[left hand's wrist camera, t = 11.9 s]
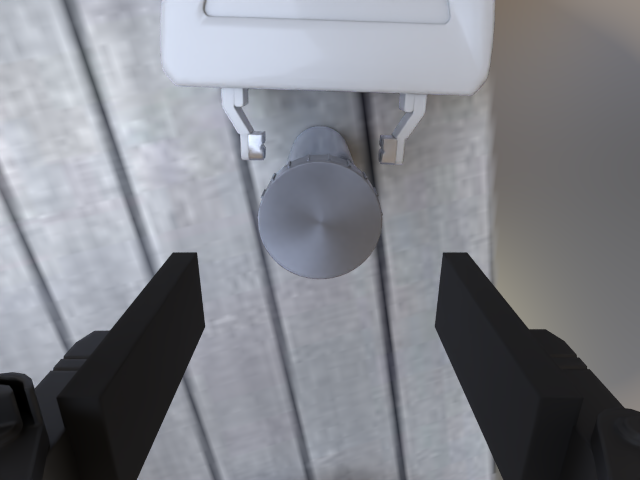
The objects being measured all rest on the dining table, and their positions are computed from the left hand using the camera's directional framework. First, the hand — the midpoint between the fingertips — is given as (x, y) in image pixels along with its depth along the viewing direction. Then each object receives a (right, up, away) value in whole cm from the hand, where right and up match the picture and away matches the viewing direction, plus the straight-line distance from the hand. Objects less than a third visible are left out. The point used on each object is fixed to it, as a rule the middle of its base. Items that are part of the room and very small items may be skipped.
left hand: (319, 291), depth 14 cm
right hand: (0, +7, +16) cm, 18 cm away
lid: (0, +3, +7) cm, 7 cm away
